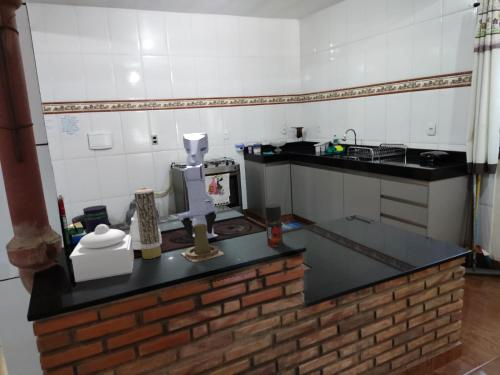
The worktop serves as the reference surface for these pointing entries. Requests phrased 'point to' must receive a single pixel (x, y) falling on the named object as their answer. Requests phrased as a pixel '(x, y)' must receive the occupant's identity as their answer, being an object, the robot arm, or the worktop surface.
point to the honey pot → (135, 233)
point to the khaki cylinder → (201, 239)
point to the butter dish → (102, 254)
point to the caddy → (200, 257)
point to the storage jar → (95, 217)
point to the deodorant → (274, 225)
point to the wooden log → (147, 223)
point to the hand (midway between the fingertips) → (200, 235)
